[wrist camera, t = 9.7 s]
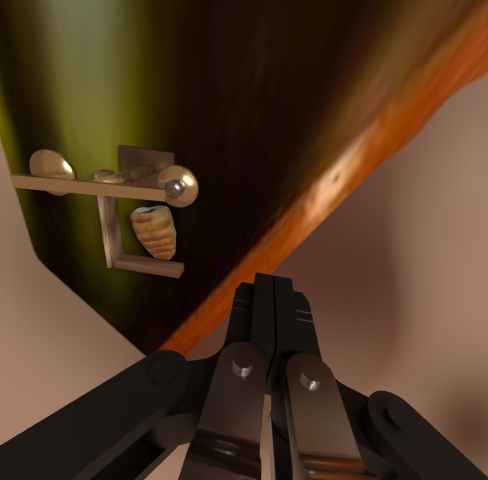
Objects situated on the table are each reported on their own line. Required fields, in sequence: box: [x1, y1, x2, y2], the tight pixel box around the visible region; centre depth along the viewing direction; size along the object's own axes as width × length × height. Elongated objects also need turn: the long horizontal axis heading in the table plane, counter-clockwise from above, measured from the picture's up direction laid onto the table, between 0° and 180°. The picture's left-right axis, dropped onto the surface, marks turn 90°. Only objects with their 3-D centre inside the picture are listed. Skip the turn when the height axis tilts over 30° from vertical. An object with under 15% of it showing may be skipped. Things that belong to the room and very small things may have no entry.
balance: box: [10, 145, 199, 207], centre depth 28 cm, size 19×6×14 cm, turn 82°
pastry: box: [130, 205, 176, 260], centre depth 38 cm, size 9×7×4 cm
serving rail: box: [93, 170, 184, 278], centre depth 37 cm, size 16×13×3 cm
